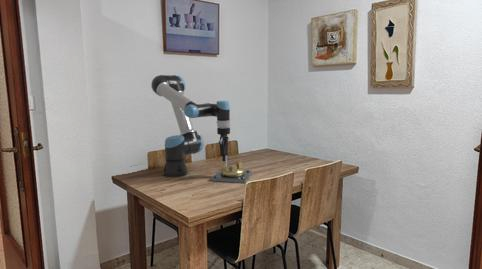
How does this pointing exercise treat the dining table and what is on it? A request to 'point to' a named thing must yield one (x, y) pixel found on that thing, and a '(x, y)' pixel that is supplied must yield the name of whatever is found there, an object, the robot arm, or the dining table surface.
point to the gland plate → (239, 179)
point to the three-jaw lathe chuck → (232, 170)
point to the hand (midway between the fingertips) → (224, 166)
